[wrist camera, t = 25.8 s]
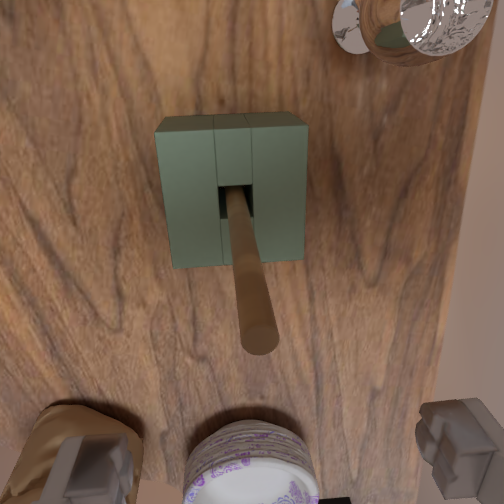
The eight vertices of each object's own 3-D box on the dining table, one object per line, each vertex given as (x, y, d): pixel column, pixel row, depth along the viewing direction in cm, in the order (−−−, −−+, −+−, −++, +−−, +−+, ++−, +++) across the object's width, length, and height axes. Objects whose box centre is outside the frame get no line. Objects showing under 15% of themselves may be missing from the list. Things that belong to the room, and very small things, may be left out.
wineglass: (339, -38, 27) (421, -97, 17) (411, -11, 28) (530, -49, 18) (312, 51, 30) (369, 49, 19) (379, 72, 31) (468, 82, 20)
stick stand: (289, 111, 32) (308, 125, 25) (288, 224, 36) (304, 259, 30) (165, 116, 31) (153, 132, 25) (179, 231, 35) (172, 269, 29)
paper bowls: (215, 387, 44) (216, 450, 37) (327, 419, 49) (346, 481, 42) (167, 469, 50) (160, 537, 43) (271, 491, 54) (280, 556, 47)
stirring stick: (239, 165, 33) (280, 324, 14) (239, 181, 34) (280, 355, 14) (222, 166, 33) (240, 327, 14) (223, 182, 34) (241, 357, 14)
